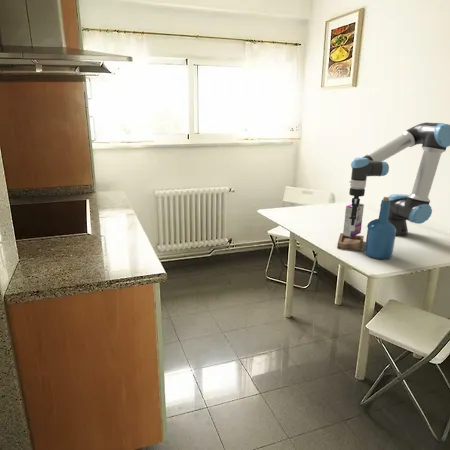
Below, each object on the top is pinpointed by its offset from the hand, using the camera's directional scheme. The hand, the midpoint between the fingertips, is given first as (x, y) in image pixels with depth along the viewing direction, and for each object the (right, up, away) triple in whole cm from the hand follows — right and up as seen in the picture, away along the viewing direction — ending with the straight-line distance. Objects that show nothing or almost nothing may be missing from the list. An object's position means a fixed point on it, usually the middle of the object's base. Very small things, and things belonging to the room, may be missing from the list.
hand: (352, 227), depth 205 cm
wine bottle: (+9, -14, -12) cm, 20 cm away
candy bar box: (0, -4, +1) cm, 4 cm away
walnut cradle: (0, -9, +3) cm, 10 cm away
